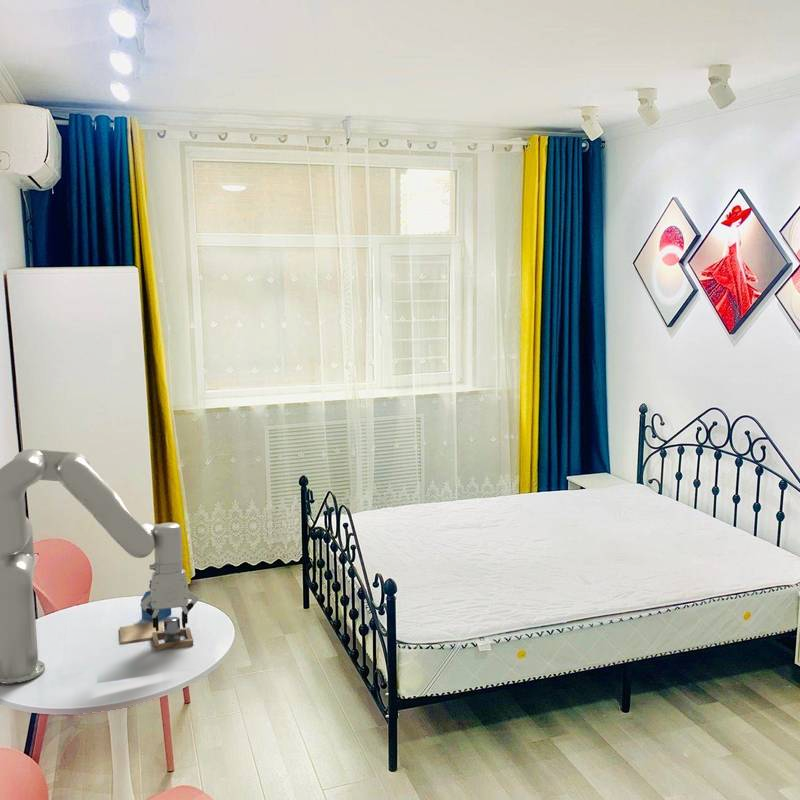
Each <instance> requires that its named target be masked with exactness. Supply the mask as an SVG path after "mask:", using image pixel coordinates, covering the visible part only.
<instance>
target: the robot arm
mask: <svg viewBox="0 0 800 800" xmlns="http://www.w3.org/2000/svg"><path fill="white" fill-rule="evenodd" d="M39 481H51V482H52V481H53V482H59V483H60V484H61V486H63V487H64V488H65V489H66V490H67V492H69V493H70V495H72V496H73V497H74V498H75V499H76V500H77V501H78V502H79V503H80V504H81V505H82V506H83V508H85V509H86V510H87V512H89V514H91V515H92V517H93V518H94V519H95V520H96V521H97V522H98V524H99V525H100V526H101V527H102V528H103V529H104V530H105V531H106V532H107V533H108V534H109V536H110V537H111V538H112V539H113V540H114V541H115V542H116V543H117V544H118V545H119V546H120V547H121V548H122V549H123V550H124V551H125V552H126V553H127V554H128V555H130V556H132V557H133V558H137V559H143V558H147V557H148V556H150V554H152V552H154V553H153V554H154V555H153V556H154V562H153V563H152V564H149V565H148V566H149V570H150V571H151V570H153V572H152V575H151V580H152V582H151V594H150V595H149V596H148V597H147V598H146V599H145V600H144V601H143V602H142V603H141V602H140V605H139V606H140V608H143V609H144V610H145V611H146V612H147V613H148V614H149V615H151V616H152V617H153V622H152V623H153V628H156V631H159V624H158V622H159V621H158V615H157V614H158V612H159V609H168V608H171V609H176V608H181V610H182V611H181V626H182V628H186V625H187V624H188V620H189V617H188V614H189V612H190V611H191V610H192V608H193V607H194V606H195V605H196V603H198V601H199V596H197V594H194V592H192V591H190V590H189V585H188V578H187V572H186V570H185V569H184V568H183V546H182V545H183V544H182V543H183V541H182V539H183V538H182V527H181V525H180V524H178V523H176V522H163V523H162V522H161V523H157V524H156V523H139V522H138V521H137V520H136V519H135V517H133V515H132V514H131V513H130V512H129V510H128V509H127V508H126V506H125V505H124V502H123V501H122V498H121V497H120V496H119V494H118V493H117V491H116V490H115V489H114V488H112V486H110V485H109V484H108V483H107V482H106V480H105V479H103V477H101V476H100V475H99V473H97V472H96V470H95V469H94V468H93V467H92V466H91V465H90V461H89V460H88V458H87V457H86V456H85V455H83V453H82V454H81V453H79V452H73V451H72V452H71V451H60V450H59V451H58V450H45V449H37V448H35V449H33V448H32V449H24V450H22V451H20V452H18V453H17V454H16V455H15V456H14V457H13V458H12V460H10V461H9V462H7V463H6V464H5V465H3V466H2V467H1V468H0V682H8V683H7V684H13V683H12V682H18V683H22V681H23V682H26V680H27V681H30V680H32V679H35V678H37V677H38V676H40V675H42V674H43V673H44V672H45V670H46V665H45V663H44V662H43V661H40V660H39V652H38V651H39V650H38V638H37V619H36V610H35V596H34V585H33V584H34V583H33V581H34V580H33V579H34V573H35V568H36V567H35V566H36V560H35V559H36V558H35V548H34V545H35V544H34V535H33V534H34V533H33V526H32V522H31V520H30V519H29V518H28V517H27V513H26V497H25V493H26V491H27V490H28V488H29V487H31V486H34V485H35V484H37V483H38V482H39ZM189 598H190V599H191V600H190V602H189ZM150 601H151V605H152V608H153V610H152V609H151V608H150V607H148V606H147V604H148V603H149V602H150Z"/></svg>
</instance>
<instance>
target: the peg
mask: <svg viewBox="0 0 800 800" xmlns="http://www.w3.org/2000/svg"><path fill="white" fill-rule="evenodd" d="M180 620H181V619H180V617H178V616H168V617H166V618H164V619H163V631H164V643H167V642H174V641H180V640H181V638H182V637H181V635H180V629H181V621H180Z"/></svg>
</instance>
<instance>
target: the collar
mask: <svg viewBox="0 0 800 800" xmlns="http://www.w3.org/2000/svg"><path fill="white" fill-rule="evenodd" d="M152 635H153V639H152V641H153V649H154V652H158V651H164V650H171V649H178V648H185V647H191V646H194V639H193V635H192V633H191V629H190V627H185V628H183V627H182V628H181V627H180V636H183V635H185V637H186V639H182V640H180V641H174V642H167V643H165V642H162V643H160V642H159V638H158V636H164V630H163V631H161V632H154V633H152Z"/></svg>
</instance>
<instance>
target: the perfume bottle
mask: <svg viewBox="0 0 800 800" xmlns="http://www.w3.org/2000/svg"><path fill="white" fill-rule="evenodd" d="M151 582H152V579H149V584H148V585H149V586H148V587H149V588H148V589H150V590H148V591H146V592H145V593H144V595H142V598H141V600H140V604H141V603H142V602H143V601H144V600H145V599H146V598H147V597H148V596H149V595H150V594H151ZM147 606H148V607H150V608H151V609H152V610H153V608H152V605H151V601H150V602H149V603H148V604H147ZM140 608H141V607H140ZM157 615H158V622H160V621H162V620H164V619H166V618H169V617H171V615H172V608H168V609H159V612H158V614H157ZM141 619H142V620H144V621H148V622H151V623H153V617H152V616H151V615H149V614H148V613H147V612H146V611H145V610H144V609H143V608H141Z"/></svg>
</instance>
